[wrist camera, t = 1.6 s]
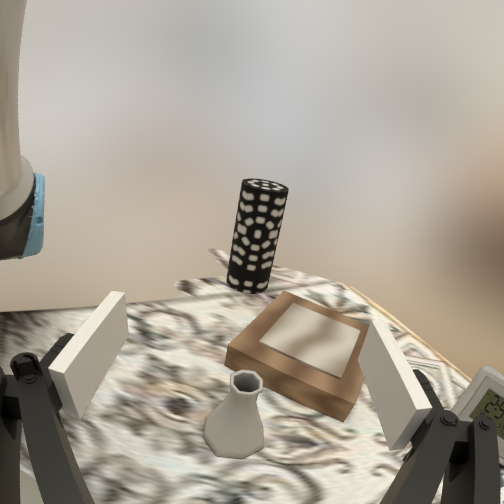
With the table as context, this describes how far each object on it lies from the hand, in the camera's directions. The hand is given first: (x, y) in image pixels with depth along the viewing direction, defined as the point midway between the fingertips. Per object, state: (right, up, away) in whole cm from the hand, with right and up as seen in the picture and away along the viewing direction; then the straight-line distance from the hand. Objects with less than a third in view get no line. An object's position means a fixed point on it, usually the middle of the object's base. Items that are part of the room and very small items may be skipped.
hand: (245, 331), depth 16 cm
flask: (-2, -17, +16) cm, 23 cm away
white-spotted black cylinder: (-1, -2, +47) cm, 47 cm away
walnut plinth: (+9, -12, +30) cm, 33 cm away
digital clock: (+34, -24, +15) cm, 44 cm away
